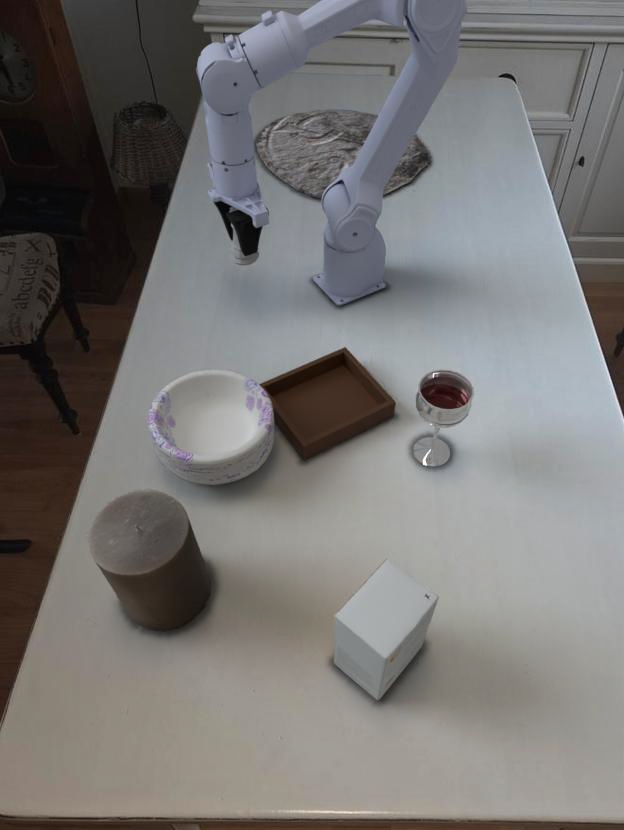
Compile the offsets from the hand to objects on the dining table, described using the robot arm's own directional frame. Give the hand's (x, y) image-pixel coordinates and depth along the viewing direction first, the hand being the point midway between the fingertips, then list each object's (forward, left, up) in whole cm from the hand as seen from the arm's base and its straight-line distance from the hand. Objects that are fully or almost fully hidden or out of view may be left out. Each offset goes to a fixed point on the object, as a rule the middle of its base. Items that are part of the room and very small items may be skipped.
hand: (243, 245), depth 93 cm
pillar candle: (+32, +40, -10) cm, 53 cm away
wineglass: (-6, +40, -10) cm, 42 cm away
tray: (+2, +26, -9) cm, 28 cm away
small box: (+16, +59, -10) cm, 62 cm away
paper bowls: (+18, +25, -10) cm, 33 cm away
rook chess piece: (0, 0, -2) cm, 2 cm away
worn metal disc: (-37, -31, -9) cm, 49 cm away
